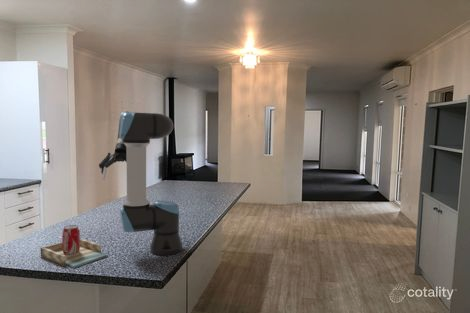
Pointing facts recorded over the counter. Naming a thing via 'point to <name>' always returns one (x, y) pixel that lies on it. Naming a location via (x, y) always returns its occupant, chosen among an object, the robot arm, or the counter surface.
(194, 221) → the counter surface
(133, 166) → the robot arm
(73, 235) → the soda can
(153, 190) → the counter surface
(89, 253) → the truck bed
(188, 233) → the counter surface
